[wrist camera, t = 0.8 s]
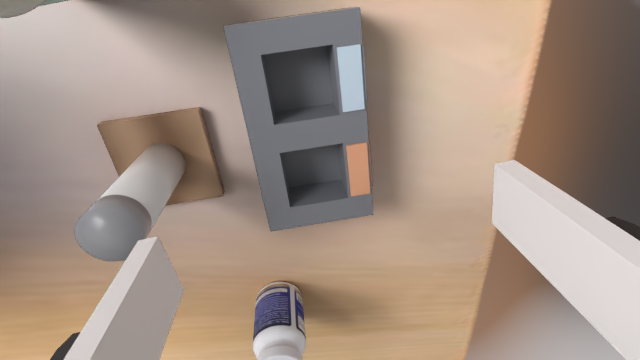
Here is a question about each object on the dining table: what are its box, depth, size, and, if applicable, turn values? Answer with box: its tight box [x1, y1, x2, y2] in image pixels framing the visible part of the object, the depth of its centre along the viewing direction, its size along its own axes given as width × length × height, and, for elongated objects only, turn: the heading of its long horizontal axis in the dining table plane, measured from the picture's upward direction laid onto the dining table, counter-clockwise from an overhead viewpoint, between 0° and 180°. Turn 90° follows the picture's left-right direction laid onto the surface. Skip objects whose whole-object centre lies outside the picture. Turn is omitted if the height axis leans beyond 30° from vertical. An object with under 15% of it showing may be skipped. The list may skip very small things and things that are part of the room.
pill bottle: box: [253, 282, 306, 360], centre depth 39 cm, size 6×6×10 cm
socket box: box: [223, 7, 373, 231], centre depth 31 cm, size 10×18×5 cm, turn 7°
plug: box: [74, 143, 186, 261], centre depth 28 cm, size 4×4×12 cm
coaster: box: [97, 107, 224, 205], centre depth 33 cm, size 9×9×1 cm
